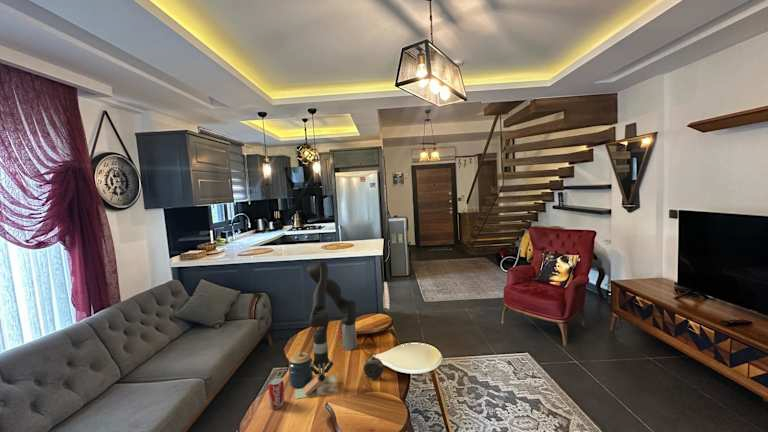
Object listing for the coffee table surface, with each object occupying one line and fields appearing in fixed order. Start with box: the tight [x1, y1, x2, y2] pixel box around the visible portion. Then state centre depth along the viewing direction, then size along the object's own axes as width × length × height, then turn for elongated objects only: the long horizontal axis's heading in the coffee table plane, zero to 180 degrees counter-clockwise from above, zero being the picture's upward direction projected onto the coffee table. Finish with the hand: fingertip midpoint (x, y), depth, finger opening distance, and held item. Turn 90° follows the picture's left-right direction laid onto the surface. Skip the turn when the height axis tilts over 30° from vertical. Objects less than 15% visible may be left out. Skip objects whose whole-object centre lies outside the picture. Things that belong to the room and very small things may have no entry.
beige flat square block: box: [316, 374, 339, 397], centre depth 174 cm, size 11×10×4 cm
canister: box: [288, 350, 314, 389], centre depth 180 cm, size 13×13×18 cm
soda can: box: [268, 376, 285, 410], centre depth 161 cm, size 7×7×13 cm
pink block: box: [303, 374, 321, 396], centre depth 170 cm, size 9×6×2 cm
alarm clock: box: [363, 351, 384, 382], centre depth 180 cm, size 11×5×16 cm, turn 77°
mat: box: [294, 387, 317, 400], centre depth 171 cm, size 11×8×1 cm
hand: (322, 380), depth 172 cm, fingers closed
